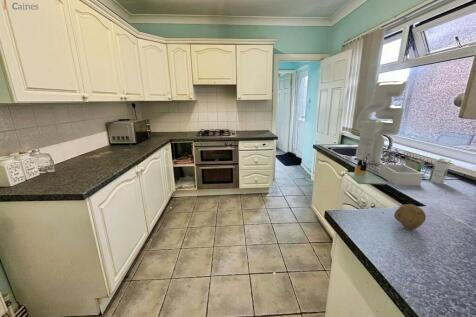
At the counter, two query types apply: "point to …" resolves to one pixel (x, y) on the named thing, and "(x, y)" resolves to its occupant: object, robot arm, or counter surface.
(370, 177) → the lid
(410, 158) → the food container
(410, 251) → the counter surface
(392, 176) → the tub
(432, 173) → the syrup box
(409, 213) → the natural sponge
